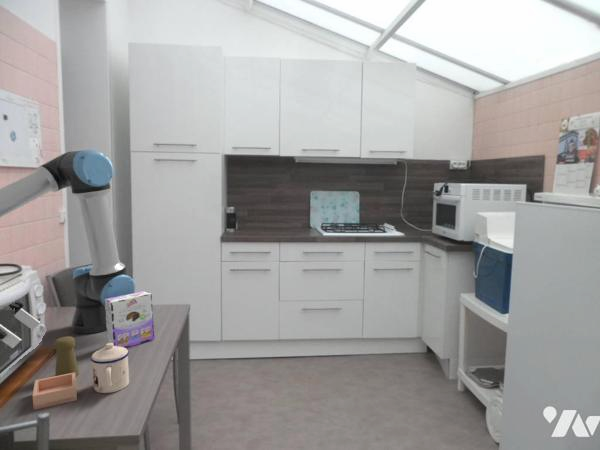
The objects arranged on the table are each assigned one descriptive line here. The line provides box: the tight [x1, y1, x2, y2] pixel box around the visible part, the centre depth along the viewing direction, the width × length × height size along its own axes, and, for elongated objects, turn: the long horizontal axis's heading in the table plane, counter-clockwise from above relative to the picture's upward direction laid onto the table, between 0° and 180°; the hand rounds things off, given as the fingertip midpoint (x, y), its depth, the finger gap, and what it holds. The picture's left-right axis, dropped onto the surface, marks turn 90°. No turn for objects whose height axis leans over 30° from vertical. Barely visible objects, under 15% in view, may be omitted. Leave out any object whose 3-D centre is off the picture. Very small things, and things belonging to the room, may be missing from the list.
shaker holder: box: [32, 372, 78, 411], centre depth 109 cm, size 9×9×4 cm
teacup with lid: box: [90, 342, 130, 394], centre depth 112 cm, size 12×9×12 cm
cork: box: [53, 335, 80, 377], centre depth 120 cm, size 6×6×11 cm
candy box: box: [105, 290, 155, 349], centre depth 142 cm, size 14×6×16 cm, turn 134°
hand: (27, 334), depth 116 cm, fingers open, 13 cm apart
